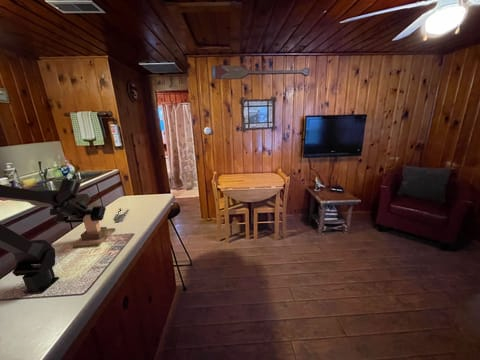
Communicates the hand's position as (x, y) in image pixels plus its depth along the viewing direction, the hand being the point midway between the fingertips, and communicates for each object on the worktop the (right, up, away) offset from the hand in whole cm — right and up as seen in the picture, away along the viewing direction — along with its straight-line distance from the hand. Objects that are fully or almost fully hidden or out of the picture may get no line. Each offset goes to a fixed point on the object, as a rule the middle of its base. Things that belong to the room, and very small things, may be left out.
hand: (93, 220), depth 95 cm
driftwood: (-2, -3, +26) cm, 26 cm away
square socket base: (+1, -9, +1) cm, 9 cm away
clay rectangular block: (0, -8, +1) cm, 8 cm away
